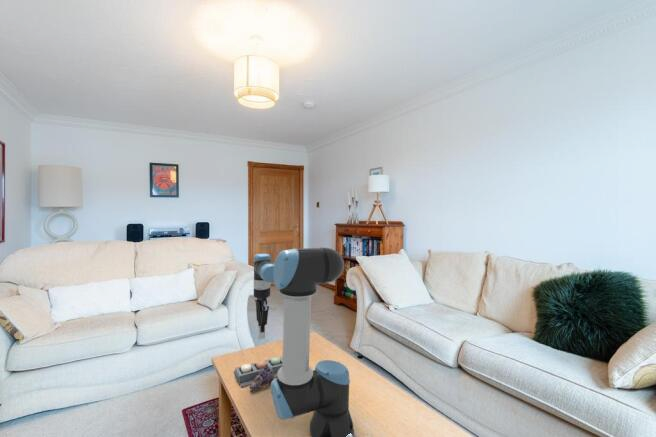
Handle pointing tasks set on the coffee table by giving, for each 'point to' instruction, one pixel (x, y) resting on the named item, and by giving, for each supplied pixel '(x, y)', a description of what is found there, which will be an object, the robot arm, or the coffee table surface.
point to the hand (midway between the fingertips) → (261, 337)
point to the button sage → (275, 361)
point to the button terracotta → (260, 364)
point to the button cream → (245, 368)
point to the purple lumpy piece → (263, 379)
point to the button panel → (254, 373)
